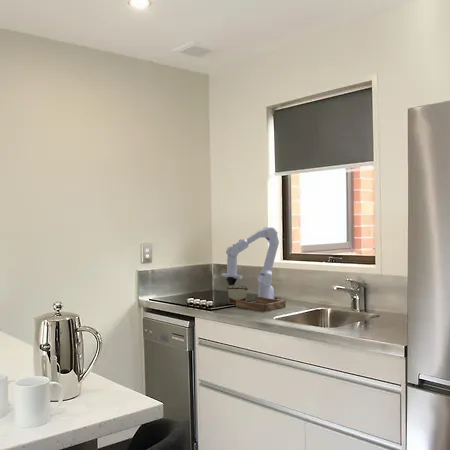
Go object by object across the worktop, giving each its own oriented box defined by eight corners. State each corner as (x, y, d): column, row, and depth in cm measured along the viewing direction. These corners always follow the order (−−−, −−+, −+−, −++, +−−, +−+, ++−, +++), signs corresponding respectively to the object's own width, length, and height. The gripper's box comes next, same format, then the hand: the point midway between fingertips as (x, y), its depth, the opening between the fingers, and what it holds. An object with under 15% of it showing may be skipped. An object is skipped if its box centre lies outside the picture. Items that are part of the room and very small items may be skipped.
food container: (248, 302, 305) (248, 285, 305) (247, 304, 299) (248, 287, 299) (227, 301, 306) (227, 284, 306) (226, 303, 300) (226, 286, 300)
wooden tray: (256, 302, 305) (256, 296, 305) (285, 306, 291) (285, 300, 291) (235, 306, 291) (235, 300, 291) (265, 311, 278) (265, 304, 278)
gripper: (218, 266, 307) (217, 289, 307) (236, 268, 297) (236, 292, 297) (226, 265, 312) (225, 288, 312) (244, 267, 302) (244, 291, 303)
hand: (231, 290), depth 305 cm, fingers closed, pressing on food container
